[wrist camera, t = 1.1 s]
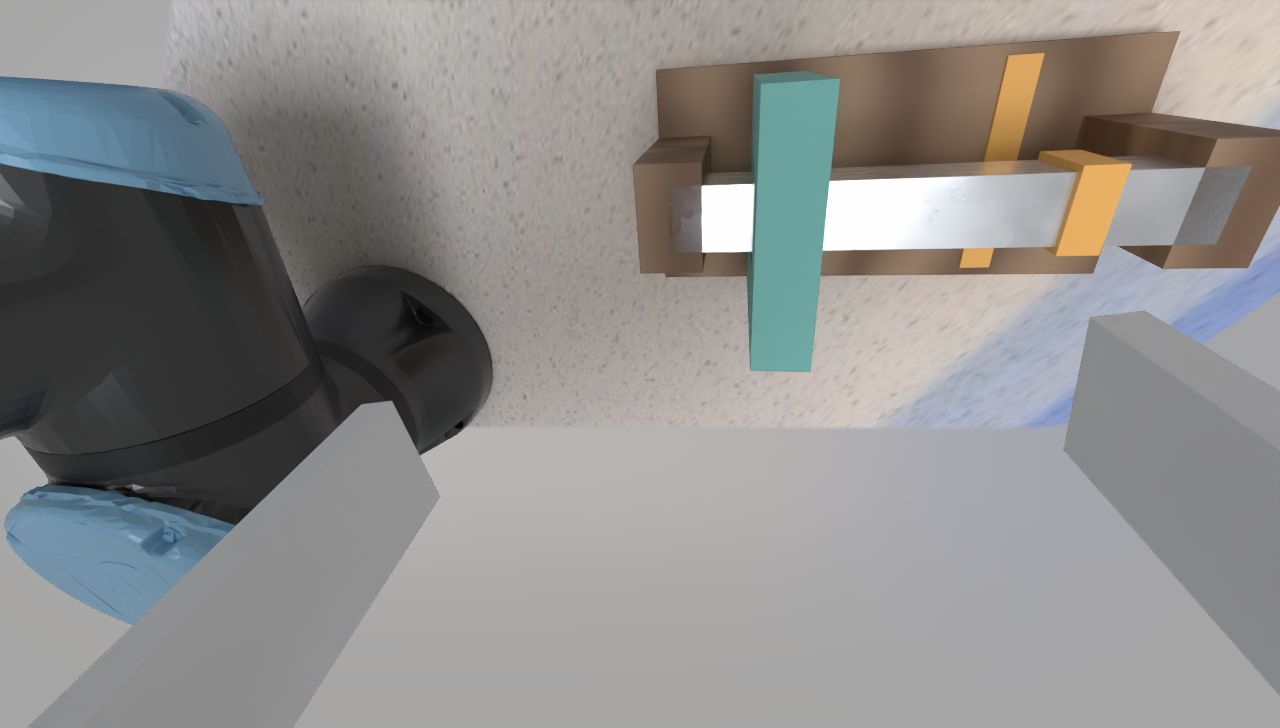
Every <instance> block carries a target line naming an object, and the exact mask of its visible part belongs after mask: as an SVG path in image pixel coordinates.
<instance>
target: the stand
mask: <svg viewBox="0 0 1280 728" xmlns="http://www.w3.org/2000/svg"><path fill="white" fill-rule="evenodd" d="M1179 34H1180V31H1174V32H1157V33H1144V34H1130V35H1117V36H1103V37H1090V38H1077V39H1063V40H1050V41H1036V42H1023V43H1010V44H996V45H983V46H970V47H956V48H943V49H929V50H916V51H903V52H889V53H876V54H862V55H849V56H836V57H822V58H809V59H795V60H782V61H769V62H755V63H742V64H729V65H715V66H702V67H688V68H675V69H662V70H656V79H657V101H658V122H659V139H658V140H657V141H656V142H655V143H654V144H653V145H652V146H651V147H650V148H649V149H648V150H647V151H646V152H645V153H644V154H643V155H642V156H641V157H640V158H639V159H638V160H637V161H636V162H635V164H634V165H633V173H634V187H635V201H636V216H637V230H638V244H639V259H640V273H665V275H666V277H702V276H747V270H748V252H702V249H700V248H702V246H701V245H702V243H701V242H702V239H701V238H702V237H701V235H702V228H701V227H702V223H701V222H702V220H701V219H702V217H701V216H702V215H701V214H702V212H700V211H702V210H701V209H702V206H700V205H702V202H700V201H701V200H702V197H701V196H702V183H703V180H704V177H705V173H726V172H750V171H751V144H752V113H753V82H754V75H755V74H769V73H784V72H798V71H807V72H812V73H816V74H821V75H826V76H830V77H835V78H839V79H840V85H839V95H838V105H837V114H836V124H835V134H834V144H833V154H832V164H831V168H849V167H873V166H898V165H922V164H947V163H972V162H983V158H984V153H985V149H986V145H987V140H988V136H989V132H990V128H991V123H992V119H993V115H994V110H995V106H996V102H997V97H998V93H999V89H1000V84H1001V80H1002V76H1003V71H1004V67H1005V63H1006V58H1007V55H1020V54H1034V53H1045V54H1044V58H1043V62H1042V65H1041V69H1040V73H1039V77H1038V81H1037V85H1036V88H1035V92H1034V96H1033V100H1032V104H1031V108H1030V112H1029V115H1028V119H1027V123H1026V127H1025V131H1024V135H1023V138H1022V142H1021V146H1020V150H1019V154H1018V158H1017V161H1021V160H1038V157H1039V153H1040V151H1061V150H1084V151H1088V152H1091V153H1095V154H1099V155H1102V156H1106V157H1119V156H1144V155H1155V156H1159V157H1163V158H1168V159H1172V160H1176V161H1180V162H1185V163H1189V164H1193V165H1197V166H1201V167H1206V168H1207V167H1208V168H1207V169H1208V171H1207V170H1206V168H1205V170H1206V171H1205V170H1204V171H1205V172H1206V174H1208V175H1209V174H1210V173H1211V172H1212V173H1214V174H1212V176H1211V174H1210V175H1209V176H1211V178H1212V177H1213V178H1212V179H1213V180H1214V179H1215V178H1216V175H1215V174H1217V179H1218V178H1219V177H1221V178H1219V179H1220V181H1221V180H1222V177H1223V178H1224V180H1225V181H1224V180H1223V181H1222V182H1223V183H1224V185H1227V184H1228V183H1227V184H1226V183H1225V182H1226V178H1227V180H1228V181H1230V182H1231V180H1233V178H1232V177H1233V173H1234V177H1235V176H1236V178H1234V179H1236V180H1237V177H1238V180H1237V182H1238V181H1240V179H1239V177H1240V176H1241V178H1242V174H1241V173H1243V175H1244V173H1245V172H1244V171H1242V172H1241V170H1242V169H1243V170H1247V169H1248V168H1249V167H1247V166H1251V167H1252V168H1249V169H1251V170H1250V171H1249V170H1248V171H1249V174H1248V177H1247V178H1246V179H1245V176H1243V177H1244V178H1243V179H1244V180H1245V181H1244V180H1243V179H1241V181H1242V180H1243V181H1244V182H1245V183H1244V182H1243V183H1244V184H1242V182H1241V181H1240V182H1241V184H1242V185H1243V187H1241V188H1240V186H1242V185H1240V182H1239V183H1237V182H1236V183H1237V185H1236V184H1235V181H1236V180H1234V187H1233V183H1232V186H1231V187H1233V188H1232V191H1234V188H1235V185H1236V187H1237V186H1238V184H1239V188H1240V189H1239V193H1240V194H1239V193H1238V187H1237V188H1235V189H1237V190H1236V191H1237V192H1235V191H1234V192H1235V193H1237V194H1239V196H1237V200H1236V201H1235V197H1236V196H1235V195H1237V194H1235V193H1233V194H1234V195H1233V194H1231V193H1232V192H1231V193H1230V195H1232V197H1233V196H1234V197H1233V198H1234V200H1233V201H1234V202H1232V201H1231V200H1232V199H1231V198H1230V199H1229V200H1230V202H1231V203H1234V204H1235V205H1234V204H1232V208H1233V209H1232V211H1231V210H1230V209H1231V206H1230V209H1229V208H1228V207H1229V206H1227V207H1224V203H1222V205H1223V207H1224V208H1225V210H1226V208H1228V210H1230V211H1231V212H1230V211H1228V210H1227V211H1228V212H1230V214H1229V213H1228V214H1226V213H1227V211H1225V210H1224V209H1222V210H1223V211H1225V212H1226V213H1225V212H1224V214H1226V215H1229V216H1228V217H1227V216H1226V218H1228V220H1227V222H1226V221H1225V219H1224V220H1223V219H1222V218H1221V216H1222V217H1224V216H1223V211H1222V210H1221V208H1219V209H1215V210H1216V211H1218V212H1219V211H1220V210H1221V211H1222V215H1220V213H1221V212H1220V213H1215V214H1218V215H1214V216H1217V217H1216V218H1215V217H1212V215H1211V218H1213V219H1216V220H1219V219H1218V217H1219V215H1220V218H1221V219H1222V220H1220V221H1224V222H1226V224H1225V223H1223V222H1222V223H1221V224H1222V225H1223V224H1225V226H1224V225H1223V226H1224V228H1221V229H1222V231H1221V229H1220V230H1219V229H1218V230H1219V231H1221V235H1220V237H1218V236H1217V235H1216V236H1217V237H1218V238H1219V239H1218V241H1216V244H1215V243H1214V242H1213V243H1214V244H1212V243H1211V242H1209V245H1203V244H1204V242H1203V243H1202V245H1201V242H1200V243H1198V242H1197V241H1198V240H1199V241H1201V239H1202V236H1203V235H1202V234H1203V233H1201V235H1200V236H1201V237H1200V236H1198V238H1199V237H1200V238H1201V239H1198V238H1197V237H1196V236H1195V235H1194V236H1195V237H1194V236H1193V235H1192V240H1193V237H1194V240H1195V241H1196V242H1197V243H1195V245H1193V244H1192V245H1189V241H1190V244H1191V238H1190V239H1189V236H1190V237H1191V235H1189V236H1188V233H1189V232H1188V233H1187V235H1186V234H1185V235H1184V233H1186V229H1185V228H1186V227H1187V231H1190V233H1191V232H1192V230H1193V226H1191V227H1192V230H1191V227H1190V225H1191V221H1192V222H1195V221H1196V224H1195V223H1194V224H1195V225H1196V226H1197V227H1198V226H1199V224H1198V223H1199V222H1200V221H1202V220H1204V219H1205V218H1206V216H1207V215H1208V216H1209V218H1210V215H1209V214H1212V213H1213V212H1214V208H1211V212H1209V211H1210V207H1211V206H1212V205H1213V207H1214V204H1215V203H1216V202H1215V203H1214V202H1212V201H1215V200H1216V198H1217V203H1216V204H1217V205H1218V204H1219V203H1218V202H1220V201H1219V200H1221V202H1224V201H1225V200H1227V199H1228V198H1227V199H1224V200H1223V199H1222V198H1223V197H1225V196H1227V195H1228V194H1229V193H1227V192H1228V191H1227V192H1226V191H1225V192H1223V193H1222V192H1221V194H1222V195H1221V194H1220V192H1219V191H1224V190H1223V189H1224V188H1221V187H1223V186H1224V185H1222V184H1221V185H1222V186H1219V187H1218V185H1220V183H1222V182H1220V181H1218V180H1217V183H1216V184H1217V187H1218V189H1219V188H1220V189H1221V190H1220V189H1219V190H1218V194H1219V195H1221V196H1220V197H1222V196H1223V194H1224V193H1227V195H1226V194H1224V196H1223V197H1222V198H1220V197H1219V196H1218V197H1219V198H1218V197H1213V196H1214V192H1213V191H1211V190H1210V189H1211V188H1210V189H1209V187H1211V182H1212V184H1213V186H1215V188H1214V187H1213V186H1212V187H1213V188H1212V190H1214V189H1215V192H1216V185H1214V183H1215V182H1213V181H1211V182H1209V181H1210V180H1211V178H1210V180H1209V177H1208V176H1207V175H1206V174H1205V173H1204V174H1203V175H1204V176H1206V177H1204V178H1206V179H1207V177H1208V179H1207V180H1208V182H1207V180H1206V182H1205V181H1204V182H1205V183H1206V185H1205V184H1204V182H1203V181H1201V180H1202V179H1203V177H1202V178H1201V180H1200V182H1199V185H1198V191H1196V192H1198V193H1199V191H1200V189H1199V187H1200V186H1201V187H1200V188H1201V189H1202V187H1204V188H1205V187H1206V188H1205V190H1203V189H1202V190H1203V191H1205V193H1207V190H1208V193H1209V194H1205V193H1204V195H1205V196H1204V195H1203V196H1204V197H1206V198H1207V197H1208V196H1206V195H1209V196H1210V193H1211V197H1213V200H1212V199H1211V201H1210V202H1209V203H1212V205H1211V204H1209V205H1211V206H1209V205H1208V206H1207V203H1206V205H1205V202H1208V201H1209V198H1211V197H1208V198H1207V199H1206V200H1205V198H1203V200H1201V199H1200V198H1202V197H1201V195H1202V194H1201V193H1202V192H1203V191H1202V190H1201V191H1202V192H1201V191H1200V192H1201V193H1199V194H1200V196H1199V194H1198V196H1199V197H1198V196H1196V194H1197V193H1196V192H1195V194H1194V196H1193V199H1194V198H1195V196H1196V197H1197V198H1199V199H1200V200H1201V201H1204V202H1202V203H1203V204H1202V206H1201V207H1202V208H1201V207H1199V206H1200V205H1201V201H1200V200H1198V201H1199V203H1200V204H1198V205H1199V206H1198V205H1197V206H1198V207H1199V208H1201V209H1203V208H1205V207H1204V206H1206V209H1203V210H1204V212H1205V214H1204V215H1206V212H1207V207H1209V208H1208V209H1209V210H1208V212H1209V213H1208V212H1207V213H1208V214H1207V215H1206V216H1204V215H1203V217H1204V219H1202V218H1203V217H1201V216H1202V214H1201V213H1203V212H1202V211H1203V210H1202V211H1199V212H1201V213H1200V214H1198V213H1199V212H1198V213H1197V212H1196V214H1197V215H1201V216H1200V217H1201V218H1200V217H1198V216H1197V218H1199V219H1197V218H1196V219H1197V220H1195V218H1194V217H1195V216H1196V215H1195V214H1194V213H1195V211H1198V209H1199V208H1198V207H1197V206H1196V205H1195V206H1194V205H1193V204H1197V198H1195V199H1196V200H1195V199H1194V200H1193V199H1192V201H1191V202H1193V203H1191V204H1190V205H1191V206H1192V205H1193V206H1192V207H1193V209H1194V213H1193V212H1192V211H1193V209H1192V210H1191V211H1190V207H1191V206H1189V209H1188V211H1189V212H1190V214H1191V215H1188V214H1189V212H1188V211H1187V213H1188V214H1187V216H1185V218H1186V219H1188V218H1189V219H1190V222H1189V224H1187V225H1189V226H1186V223H1188V220H1187V222H1186V223H1185V222H1184V221H1185V220H1186V219H1185V220H1184V221H1183V226H1184V224H1185V228H1184V227H1183V226H1182V225H1181V226H1182V228H1183V229H1182V228H1180V229H1179V231H1180V230H1181V229H1182V230H1183V233H1181V234H1182V236H1183V239H1182V238H1181V239H1182V240H1183V242H1182V241H1179V242H1177V241H1178V240H1179V239H1180V237H1182V236H1181V234H1180V233H1179V234H1180V236H1179V239H1178V240H1177V239H1175V242H1176V243H1178V245H1177V244H1175V245H1174V243H1173V245H1146V246H1118V247H1120V248H1122V249H1124V250H1126V251H1128V252H1130V253H1132V254H1134V255H1136V256H1138V257H1140V258H1142V259H1144V260H1146V261H1148V262H1150V263H1152V264H1154V265H1156V266H1158V267H1160V268H1162V269H1182V268H1248V267H1249V265H1250V263H1251V261H1252V259H1253V257H1254V255H1255V253H1256V251H1257V249H1258V247H1259V245H1260V243H1261V241H1262V239H1263V237H1264V235H1265V233H1266V231H1267V229H1268V227H1269V225H1270V223H1271V221H1272V219H1273V217H1274V215H1275V213H1276V212H1277V210H1278V208H1279V206H1280V130H1276V129H1268V128H1261V127H1254V126H1246V125H1239V124H1232V123H1224V122H1217V121H1209V120H1202V119H1195V118H1187V117H1180V116H1173V115H1165V114H1158V113H1151V111H1152V109H1153V106H1154V103H1155V100H1156V97H1157V95H1158V92H1159V89H1160V86H1161V84H1162V81H1163V78H1164V75H1165V72H1166V70H1167V67H1168V64H1169V61H1170V59H1171V56H1172V53H1173V50H1174V48H1175V45H1176V42H1177V39H1178V36H1179ZM1235 166H1236V167H1237V166H1239V167H1240V168H1239V167H1238V169H1241V170H1239V171H1238V175H1239V176H1237V174H1235V172H1236V173H1237V168H1236V169H1235ZM1243 166H1245V167H1246V168H1245V169H1244V167H1243ZM1213 167H1215V168H1216V167H1217V169H1218V167H1219V172H1220V171H1221V172H1222V173H1219V172H1218V170H1217V171H1215V170H1216V169H1214V170H1211V169H1210V168H1212V169H1213ZM1224 167H1225V168H1226V170H1225V171H1226V172H1227V173H1226V172H1225V171H1224V169H1223V168H1224ZM1228 167H1229V169H1230V168H1231V167H1232V168H1231V170H1232V169H1233V168H1234V169H1235V170H1236V171H1235V172H1234V169H1233V170H1232V174H1231V175H1232V176H1231V175H1230V173H1231V172H1230V170H1229V169H1228ZM1242 167H1243V168H1242ZM1220 168H1221V170H1220ZM1209 169H1210V170H1209ZM1222 169H1223V170H1222ZM1227 169H1228V170H1227ZM1209 171H1211V172H1210V173H1209ZM1228 171H1229V172H1228ZM1248 171H1246V175H1247V173H1248ZM1207 172H1208V173H1207ZM1217 172H1218V173H1219V174H1218V173H1217ZM1223 172H1225V176H1222V175H1223V174H1224V173H1223ZM1239 172H1240V173H1239ZM1228 173H1229V175H1230V177H1231V178H1232V179H1231V178H1230V179H1231V180H1230V179H1229V177H1226V174H1227V176H1229V175H1228ZM1240 174H1241V175H1240ZM1213 175H1214V176H1215V178H1214V176H1213ZM1219 175H1220V176H1219ZM1218 176H1219V177H1218ZM1204 180H1205V179H1204ZM1215 181H1216V179H1215ZM1228 181H1227V182H1228ZM1201 182H1202V183H1203V184H1200V183H1201ZM1218 182H1219V184H1218ZM1232 182H1233V181H1232ZM1207 183H1209V184H1210V186H1209V184H1208V185H1207ZM1229 184H1230V183H1229ZM1204 185H1205V186H1204ZM1230 185H1231V184H1230ZM690 186H691V187H690ZM692 186H694V187H696V186H697V187H696V188H697V189H696V188H694V187H692ZM700 186H701V187H700ZM1207 186H1209V187H1208V188H1207ZM668 187H669V189H668ZM670 187H671V188H670ZM678 187H679V188H678ZM681 187H682V188H681ZM684 187H686V189H685V188H684ZM1224 187H1225V186H1224ZM1228 187H1229V185H1227V188H1225V189H1227V190H1228V189H1229V188H1228ZM674 189H675V190H674ZM690 189H691V190H692V191H691V190H690ZM700 189H701V191H700ZM681 190H682V191H681ZM683 190H684V191H683ZM685 190H687V191H686V192H685ZM1196 190H1197V189H1196ZM1209 190H1210V191H1209ZM677 191H679V194H678V192H677ZM689 191H690V192H689ZM695 191H698V192H695ZM1230 191H1231V188H1230ZM1230 191H1229V192H1230ZM1240 191H1241V192H1240ZM669 192H670V193H669ZM672 192H673V193H672ZM674 192H675V193H674ZM693 192H694V194H695V195H697V196H694V194H693V195H692V194H691V193H693ZM700 192H701V194H700ZM1212 192H1213V194H1212ZM683 193H684V194H683ZM685 193H686V194H685ZM688 193H689V194H688ZM1216 193H1217V192H1216ZM1216 193H1215V196H1216ZM674 194H675V195H674ZM1218 194H1217V195H1218ZM676 195H678V196H676ZM685 195H686V196H685ZM690 195H692V196H691V199H690ZM679 196H680V199H679ZM684 197H685V198H684ZM692 197H693V198H694V199H693V198H692ZM697 197H698V198H697ZM1227 197H1229V195H1228V196H1227ZM1230 197H1231V196H1230ZM700 198H701V199H700ZM1214 198H1215V200H1214ZM1225 198H1226V197H1225ZM672 199H673V200H672ZM674 199H675V200H674ZM678 199H679V200H680V201H679V200H678ZM695 199H696V200H695ZM1218 199H1219V200H1218ZM683 200H684V202H683ZM690 200H691V204H690ZM697 200H698V201H699V202H698V201H697ZM1207 200H1208V201H1207ZM1222 200H1223V201H1222ZM688 201H689V202H688ZM693 201H694V202H693ZM1194 201H1195V202H1196V203H1194ZM676 202H678V203H679V204H678V203H676ZM687 202H688V203H687ZM1221 202H1220V203H1221ZM1230 202H1229V205H1231V203H1230ZM668 203H669V204H668ZM683 203H684V205H683ZM1225 203H1226V202H1225ZM1227 203H1228V201H1227ZM1227 203H1226V204H1227ZM688 204H689V207H688ZM693 204H694V205H695V206H696V207H697V208H696V207H695V206H693ZM696 204H697V205H696ZM698 204H699V205H698ZM1216 204H1215V207H1216ZM675 205H676V207H677V208H675V207H674V206H675ZM677 205H678V206H677ZM681 205H682V206H681ZM690 205H691V206H692V207H691V210H690ZM1203 205H1204V206H1203ZM1219 205H1221V204H1219ZM1233 205H1234V207H1233ZM683 206H684V209H683ZM686 206H687V207H686ZM679 207H680V208H679ZM700 207H701V208H700ZM1192 207H1191V208H1192ZM1195 207H1196V208H1198V209H1196V210H1195ZM1218 207H1221V206H1218ZM1218 207H1216V208H1218ZM686 208H687V211H685V210H686ZM695 208H696V209H695ZM698 208H700V210H699V209H698ZM674 209H675V210H674ZM676 209H678V210H676ZM679 209H680V210H679ZM693 209H694V210H693ZM1201 209H1199V210H1201ZM1212 209H1213V210H1212ZM682 210H683V211H682ZM1205 210H1206V211H1205ZM673 211H674V212H673ZM696 211H697V212H696ZM675 212H676V215H675ZM678 212H679V213H678ZM688 212H689V215H688ZM692 212H694V213H696V214H697V215H695V214H694V213H692ZM698 212H700V214H699V216H700V218H699V216H698ZM1191 212H1192V213H1193V214H1192V213H1191ZM669 213H670V214H669ZM681 213H682V217H683V218H682V222H681ZM686 213H687V214H686ZM691 213H692V214H691ZM672 214H673V215H672ZM693 214H694V215H695V217H696V216H697V217H696V219H695V217H693V216H694V215H693ZM1213 214H1214V213H1213ZM674 215H675V217H676V218H675V217H674ZM679 215H680V218H679ZM1192 215H1194V217H1192ZM686 216H688V217H689V218H690V217H691V216H692V217H691V218H690V219H689V218H688V217H687V218H686ZM1190 217H1191V218H1190ZM674 218H675V220H673V219H674ZM677 218H678V219H677ZM684 218H685V221H684ZM698 218H699V220H697V219H698ZM1192 218H1194V219H1192ZM1207 218H1208V217H1207ZM1207 218H1206V219H1207ZM1209 218H1208V219H1209ZM1211 218H1210V219H1211ZM1224 218H1225V217H1224ZM670 219H671V220H670ZM686 219H687V220H688V219H689V220H688V221H687V220H686ZM691 219H693V221H692V220H691ZM1191 219H1192V220H1191ZM1201 219H1202V220H1201ZM1208 219H1207V220H1206V221H1205V220H1204V223H1206V225H1205V226H1206V227H1204V228H1202V229H1205V228H1206V229H1205V231H1204V232H1205V233H1206V232H1207V231H1206V230H1207V229H1208V228H1209V227H1210V226H1211V225H1212V224H1211V225H1209V226H1207V224H1208V223H1207V221H1208ZM694 220H695V221H694ZM1193 220H1195V221H1193ZM1198 220H1199V222H1198ZM673 221H674V225H675V226H674V225H673ZM686 221H687V224H688V226H686V224H685V223H686ZM691 221H692V222H691ZM699 221H700V222H699ZM676 222H677V223H676ZM690 222H691V223H690ZM693 222H694V223H695V224H693ZM697 222H698V223H697ZM1208 222H1209V221H1208ZM1210 222H1211V223H1212V221H1211V220H1210ZM1215 222H1218V221H1214V220H1213V225H1216V227H1217V226H1218V225H1217V224H1214V223H1215ZM671 223H672V224H671ZM696 223H697V225H696ZM676 224H677V225H676ZM1197 224H1198V225H1197ZM1201 224H1203V221H1202V223H1200V225H1201ZM1209 224H1210V223H1209ZM1218 224H1219V223H1218ZM679 225H680V226H679ZM693 225H694V226H695V227H694V226H693ZM698 225H699V226H701V227H700V228H701V229H700V228H699V227H698ZM1192 225H1193V223H1192ZM1195 225H1194V226H1195ZM684 226H685V228H686V227H687V228H686V229H687V233H686V234H687V236H686V234H685V232H686V231H685V230H686V229H685V228H684ZM689 226H690V228H689ZM696 226H697V227H696ZM1203 226H1204V224H1203V225H1202V226H1201V227H1203ZM669 227H670V229H669ZM682 227H683V231H682ZM693 227H694V228H693ZM1188 227H1189V228H1188ZM1197 227H1196V228H1194V230H1193V232H1192V233H1191V234H1193V233H1194V231H1196V229H1197ZM1207 227H1208V228H1207ZM1216 227H1214V226H1213V228H1215V229H1217V228H1216ZM1220 227H1221V225H1220ZM672 228H675V229H674V230H673V229H672ZM679 228H680V229H679ZM688 228H689V230H688ZM696 228H698V231H697V229H696ZM1199 228H1200V226H1199V227H1198V229H1197V232H1195V233H1196V234H1198V235H1199V234H1200V233H1199V232H1198V230H1199ZM1213 228H1212V226H1211V229H1210V228H1209V230H1212V229H1213ZM684 229H685V230H684ZM692 229H693V230H692ZM695 229H696V230H695ZM1202 229H1201V230H1200V232H1202V231H1203V230H1202ZM671 230H672V232H671ZM699 230H700V231H699ZM1182 230H1181V231H1182ZM1184 230H1185V232H1184ZM675 231H676V236H675ZM679 231H680V232H679ZM681 231H682V233H681ZM693 231H695V232H693ZM688 232H689V233H688ZM696 232H697V233H696ZM698 232H699V234H698ZM700 232H701V234H700ZM1209 232H1210V231H1209ZM1211 232H1212V231H1211ZM1214 232H1215V231H1214ZM679 233H680V234H679ZM1190 233H1189V234H1190ZM1215 233H1217V230H1216V232H1215ZM1215 233H1214V234H1213V236H1214V237H1213V238H1215ZM695 234H696V235H697V234H698V235H697V236H695ZM1179 234H1178V235H1179ZM1217 234H1218V235H1219V232H1218V233H1217ZM673 235H674V236H673ZM699 235H700V236H699ZM1178 235H1177V236H1176V238H1178ZM1209 235H1210V234H1208V233H1207V234H1206V235H1205V236H1207V238H1206V240H1207V243H1206V244H1208V241H1212V239H1211V240H1210V239H1209V240H1208V236H1209ZM672 236H673V237H672ZM677 236H678V239H677ZM679 236H680V238H681V239H680V238H679ZM682 236H683V240H682ZM693 236H694V237H693ZM698 236H699V238H698ZM1185 236H1188V237H1187V240H1189V241H1188V245H1187V242H1185V241H1186V239H1185V241H1184V238H1186V237H1185ZM1205 236H1203V239H1205V238H1204V237H1205ZM684 237H685V238H684ZM689 238H690V239H689ZM691 238H692V239H691ZM695 238H696V239H695ZM1209 238H1210V237H1209ZM1211 238H1212V234H1211ZM684 239H685V241H684ZM686 239H687V240H688V242H687V240H686ZM698 239H699V240H698ZM1181 239H1180V240H1181ZM1203 239H1202V241H1203ZM693 240H695V241H693ZM1176 240H1177V241H1176ZM1206 240H1205V242H1206ZM1214 240H1215V239H1214ZM674 241H675V242H674ZM680 241H681V242H680ZM692 241H693V242H694V244H695V242H696V244H695V245H694V244H693V242H692ZM697 241H698V242H697ZM1195 241H1194V242H1195ZM676 242H677V243H676ZM679 242H680V243H679ZM686 242H687V244H686ZM1184 242H1185V245H1184V244H1183V245H1182V243H1184ZM1194 242H1193V243H1194ZM684 243H685V244H684ZM698 243H699V244H698ZM700 243H701V244H700ZM1179 243H1181V245H1180V244H1179ZM1210 243H1211V244H1210ZM671 244H673V245H671ZM675 244H676V245H675ZM679 244H680V246H679ZM689 244H690V245H689ZM1196 244H1199V245H1196ZM670 245H671V247H670ZM686 245H687V246H688V247H687V246H686ZM699 245H700V246H699ZM672 246H673V247H672ZM697 246H698V247H697ZM680 247H681V248H680ZM1102 247H1103V246H1102ZM675 248H676V250H675ZM691 248H692V249H691ZM693 248H696V249H693ZM680 249H681V250H680ZM685 249H687V250H688V251H687V250H685ZM699 249H700V251H699ZM962 249H963V248H953V249H889V250H824V251H823V253H822V262H821V272H820V276H828V275H955V274H1082V273H1093V272H1094V269H1095V267H1096V264H1097V261H1098V258H1099V256H1055V255H1053V254H1052V253H1050V252H1048V251H1047V250H1045V249H1044V248H1042V247H1017V248H994V250H993V254H992V258H991V261H990V265H989V267H977V268H959V267H958V266H959V262H960V257H961V253H962ZM678 250H679V251H678ZM684 250H685V251H684ZM696 250H697V251H696ZM1101 250H1102V249H1101ZM675 251H676V252H675ZM686 251H687V252H689V253H687V252H686ZM693 251H694V252H693ZM698 251H699V252H698ZM677 252H681V253H677ZM682 252H683V253H682ZM684 252H685V253H684ZM1100 253H1101V252H1100Z"/></svg>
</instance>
